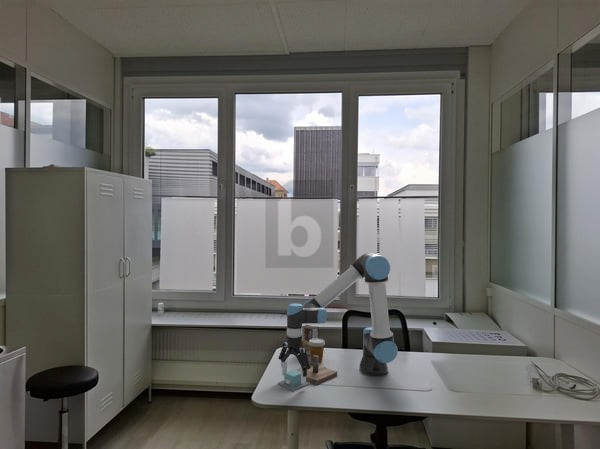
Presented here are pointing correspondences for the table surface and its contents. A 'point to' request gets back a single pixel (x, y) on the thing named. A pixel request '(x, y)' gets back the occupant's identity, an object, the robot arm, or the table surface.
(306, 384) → the mat
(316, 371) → the brown square board
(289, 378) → the teal matte cube
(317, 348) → the disposable coffee cup
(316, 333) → the coffee box
